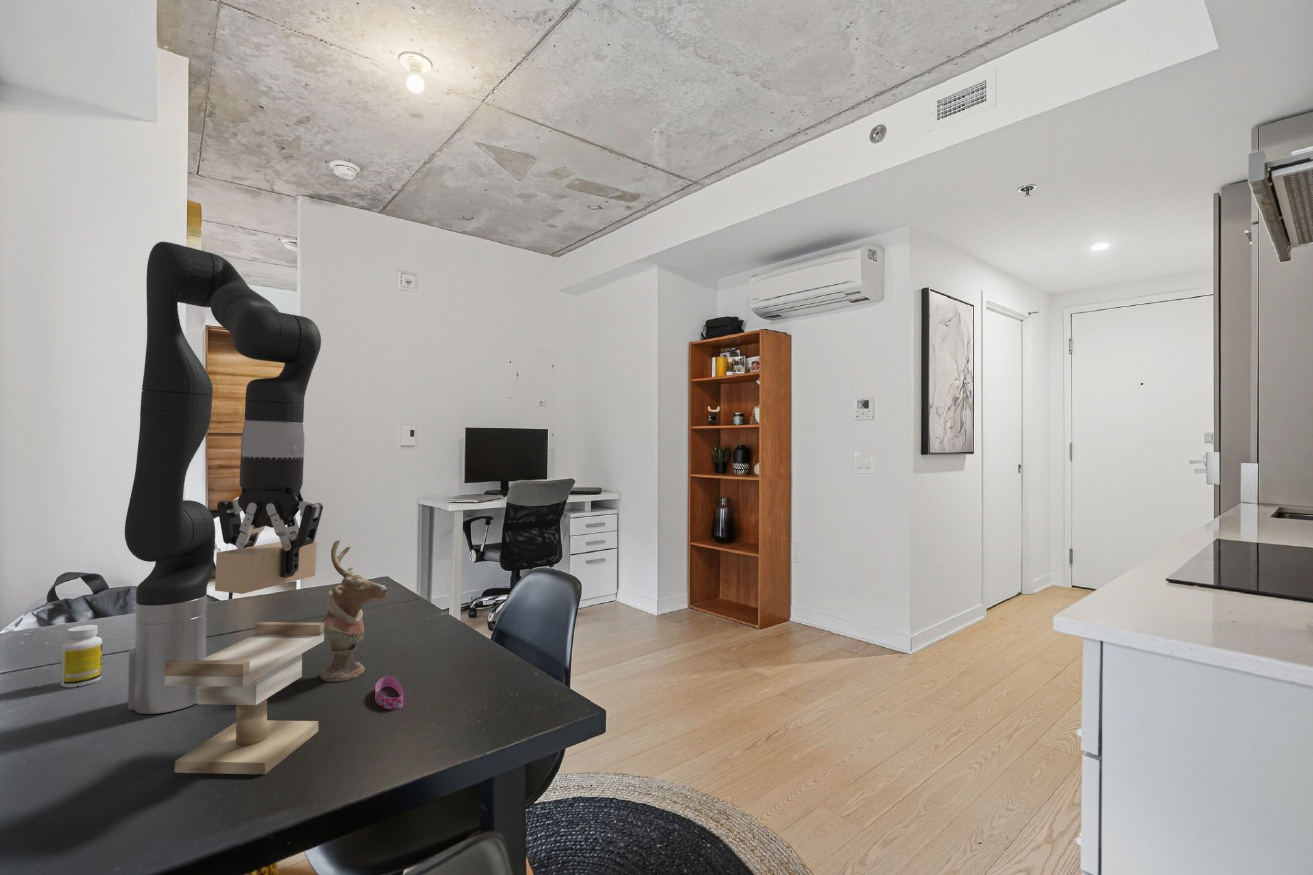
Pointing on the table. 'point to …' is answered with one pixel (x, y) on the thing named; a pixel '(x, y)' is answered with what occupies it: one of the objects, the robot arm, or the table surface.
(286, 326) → the robot arm
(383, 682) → the headband
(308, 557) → the tan block
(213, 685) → the display stand
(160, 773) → the table surface
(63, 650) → the supplement bottle
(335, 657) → the decorative bust
